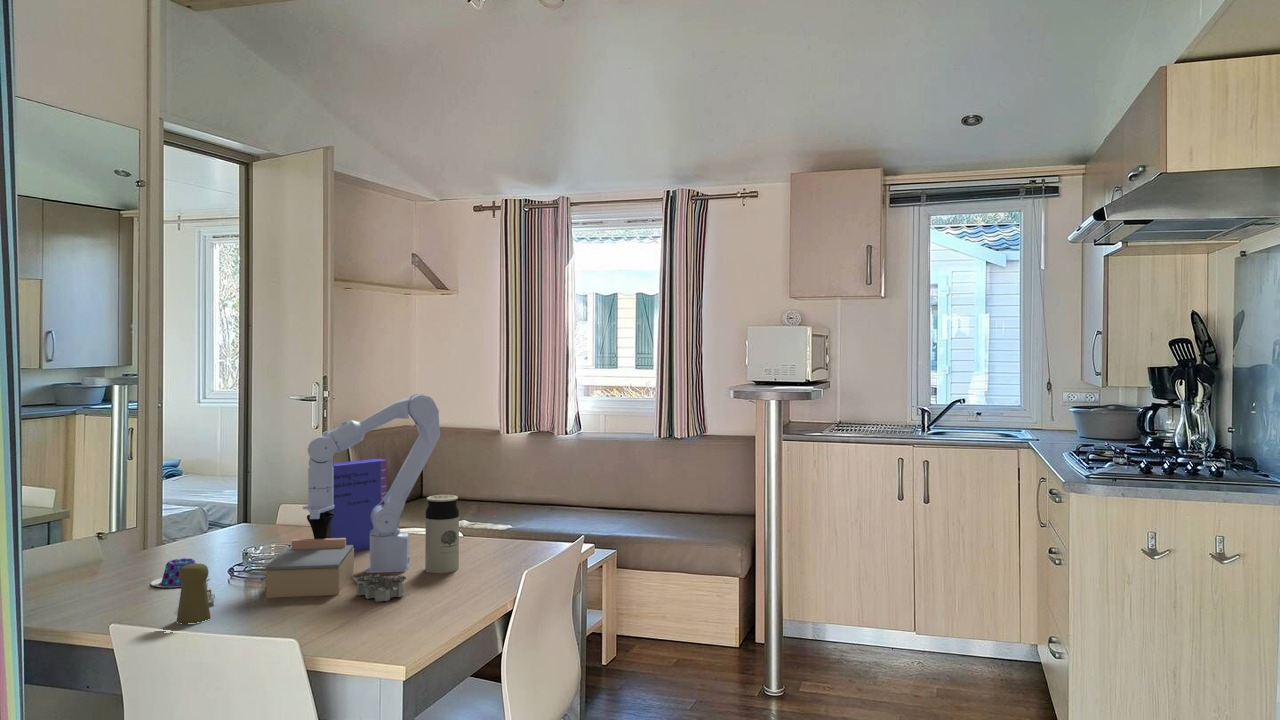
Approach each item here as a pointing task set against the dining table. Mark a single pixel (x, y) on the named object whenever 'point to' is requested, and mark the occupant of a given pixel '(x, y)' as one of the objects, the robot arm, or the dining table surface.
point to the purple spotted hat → (173, 573)
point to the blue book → (356, 500)
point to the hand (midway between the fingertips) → (320, 543)
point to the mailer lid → (312, 554)
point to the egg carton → (380, 586)
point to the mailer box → (309, 580)
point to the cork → (193, 594)
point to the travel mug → (442, 534)
